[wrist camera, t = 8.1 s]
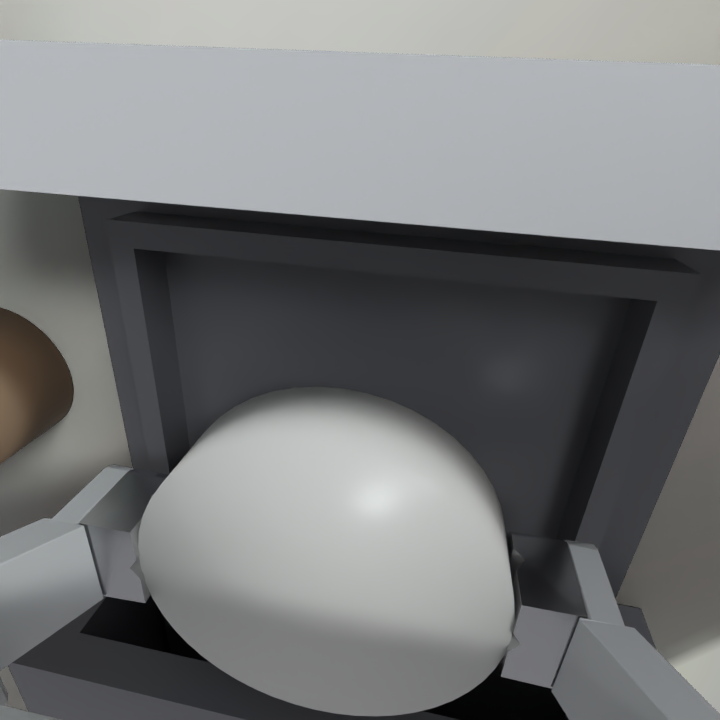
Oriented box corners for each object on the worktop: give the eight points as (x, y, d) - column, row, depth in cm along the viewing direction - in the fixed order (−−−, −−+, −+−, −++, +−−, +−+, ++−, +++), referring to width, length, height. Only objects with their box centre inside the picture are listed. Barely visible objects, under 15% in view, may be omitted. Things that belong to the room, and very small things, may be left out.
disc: (539, 414, 8) (558, 479, 6) (476, 663, 10) (479, 747, 9) (165, 364, 8) (107, 411, 7) (200, 606, 11) (163, 674, 10)
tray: (41, 71, 10) (-266, 29, 6) (860, 108, 8) (1329, 86, 4) (159, 628, 18) (67, 782, 14) (580, 722, 16) (624, 937, 12)
